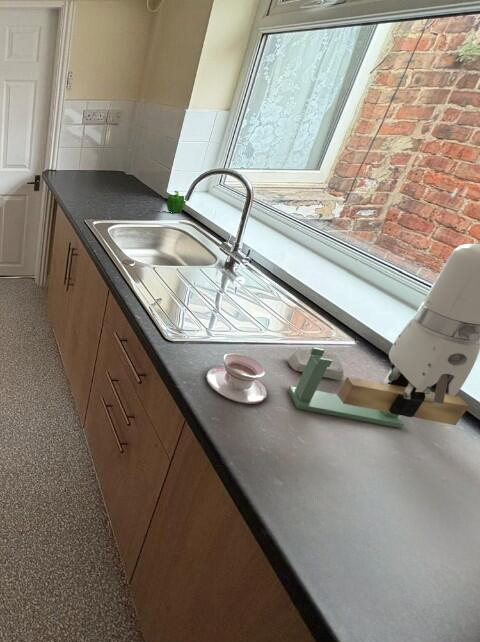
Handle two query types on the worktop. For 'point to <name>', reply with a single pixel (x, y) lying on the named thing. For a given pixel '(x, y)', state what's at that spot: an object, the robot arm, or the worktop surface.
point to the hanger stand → (332, 396)
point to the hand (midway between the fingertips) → (395, 407)
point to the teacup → (238, 379)
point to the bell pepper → (175, 203)
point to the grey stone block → (302, 356)
